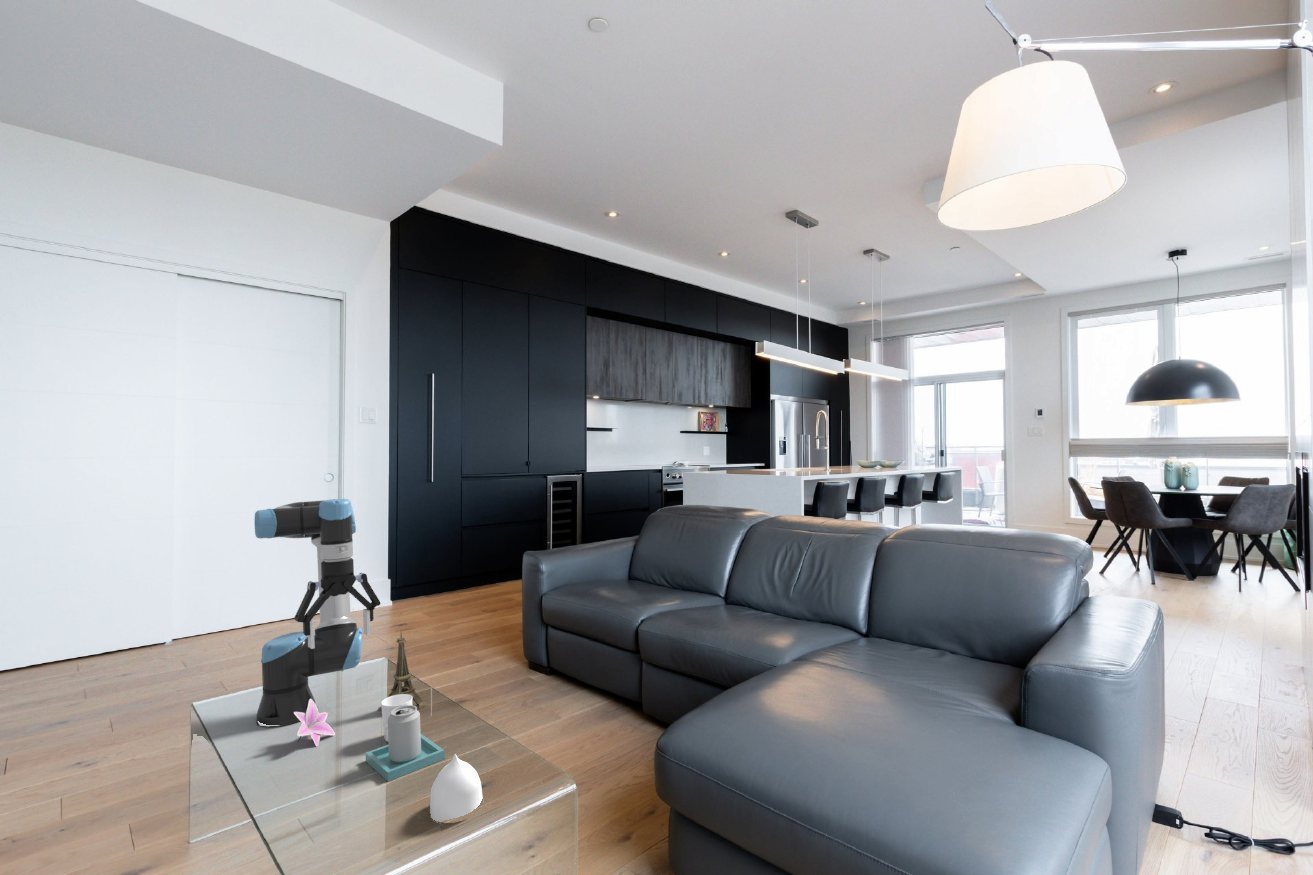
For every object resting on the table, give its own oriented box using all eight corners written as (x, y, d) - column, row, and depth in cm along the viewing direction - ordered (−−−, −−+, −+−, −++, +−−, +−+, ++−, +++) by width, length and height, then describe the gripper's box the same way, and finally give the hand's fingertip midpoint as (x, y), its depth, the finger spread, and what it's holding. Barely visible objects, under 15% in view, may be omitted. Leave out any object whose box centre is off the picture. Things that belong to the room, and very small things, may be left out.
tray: (365, 761, 157) (365, 752, 157) (420, 740, 167) (420, 733, 167) (388, 781, 147) (387, 772, 147) (444, 758, 157) (444, 750, 157)
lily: (289, 760, 161) (307, 727, 161) (271, 732, 168) (289, 699, 168) (332, 755, 171) (349, 723, 171) (313, 728, 177) (330, 697, 178)
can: (394, 751, 160) (393, 704, 160) (424, 749, 161) (423, 702, 161) (384, 766, 153) (383, 717, 153) (416, 764, 154) (414, 715, 154)
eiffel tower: (412, 697, 196) (410, 617, 196) (428, 706, 189) (425, 623, 189) (378, 708, 189) (375, 625, 189) (393, 718, 181) (390, 632, 181)
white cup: (402, 744, 165) (401, 706, 165) (376, 743, 167) (374, 705, 167) (419, 730, 173) (418, 694, 173) (394, 729, 174) (392, 693, 174)
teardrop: (481, 819, 131) (479, 762, 131) (426, 828, 129) (424, 769, 129) (484, 790, 142) (483, 737, 142) (433, 798, 140) (431, 744, 140)
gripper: (287, 569, 151) (290, 656, 151) (391, 553, 169) (394, 631, 169) (278, 565, 157) (281, 650, 157) (380, 550, 174) (383, 626, 174)
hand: (340, 640), depth 163 cm, fingers open, 13 cm apart
